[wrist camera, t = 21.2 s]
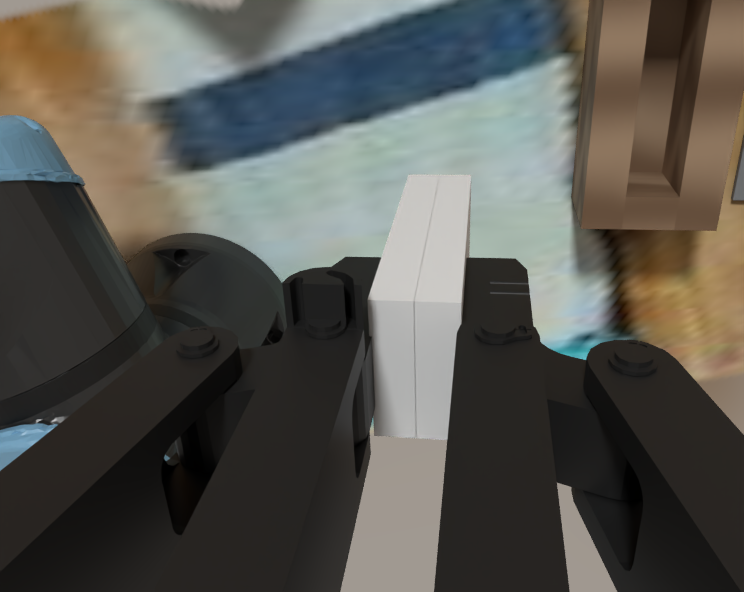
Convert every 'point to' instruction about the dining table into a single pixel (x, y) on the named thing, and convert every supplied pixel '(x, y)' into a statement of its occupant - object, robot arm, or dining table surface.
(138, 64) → the dining table surface
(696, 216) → the slot box
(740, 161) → the rubber mat
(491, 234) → the dining table surface
